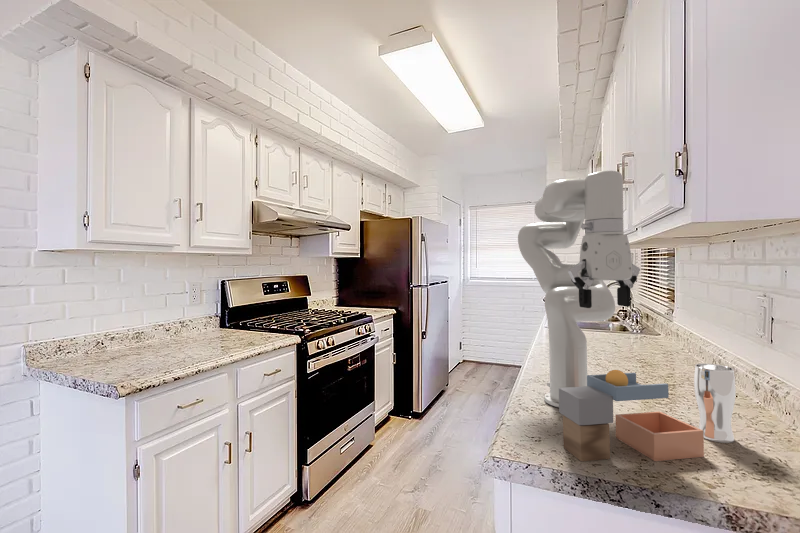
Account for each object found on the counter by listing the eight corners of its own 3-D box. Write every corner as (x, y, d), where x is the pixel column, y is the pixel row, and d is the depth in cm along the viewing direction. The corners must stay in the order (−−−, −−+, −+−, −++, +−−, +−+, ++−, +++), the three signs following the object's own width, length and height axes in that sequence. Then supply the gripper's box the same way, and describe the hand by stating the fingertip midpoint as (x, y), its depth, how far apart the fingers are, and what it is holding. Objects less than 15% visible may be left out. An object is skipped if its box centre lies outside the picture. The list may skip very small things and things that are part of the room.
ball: (601, 387, 81) (600, 368, 81) (619, 386, 81) (618, 367, 81) (614, 393, 77) (614, 373, 77) (633, 392, 77) (632, 372, 78)
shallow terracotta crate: (615, 437, 85) (615, 414, 85) (660, 434, 86) (659, 411, 86) (654, 461, 74) (654, 434, 74) (703, 456, 76) (703, 430, 76)
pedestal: (581, 461, 75) (580, 426, 75) (563, 447, 80) (562, 415, 81) (610, 458, 75) (609, 424, 76) (590, 445, 81) (589, 413, 81)
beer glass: (696, 428, 89) (694, 361, 90) (736, 435, 85) (734, 366, 85) (694, 438, 84) (692, 367, 84) (737, 447, 80) (735, 372, 80)
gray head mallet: (582, 427, 73) (581, 389, 73) (542, 401, 88) (541, 369, 88) (673, 420, 76) (672, 384, 76) (619, 396, 91) (618, 365, 91)
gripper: (580, 227, 81) (581, 310, 81) (651, 227, 85) (652, 307, 85) (558, 230, 89) (559, 306, 89) (624, 230, 92) (625, 303, 92)
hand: (604, 306), depth 87 cm, fingers open, 9 cm apart
